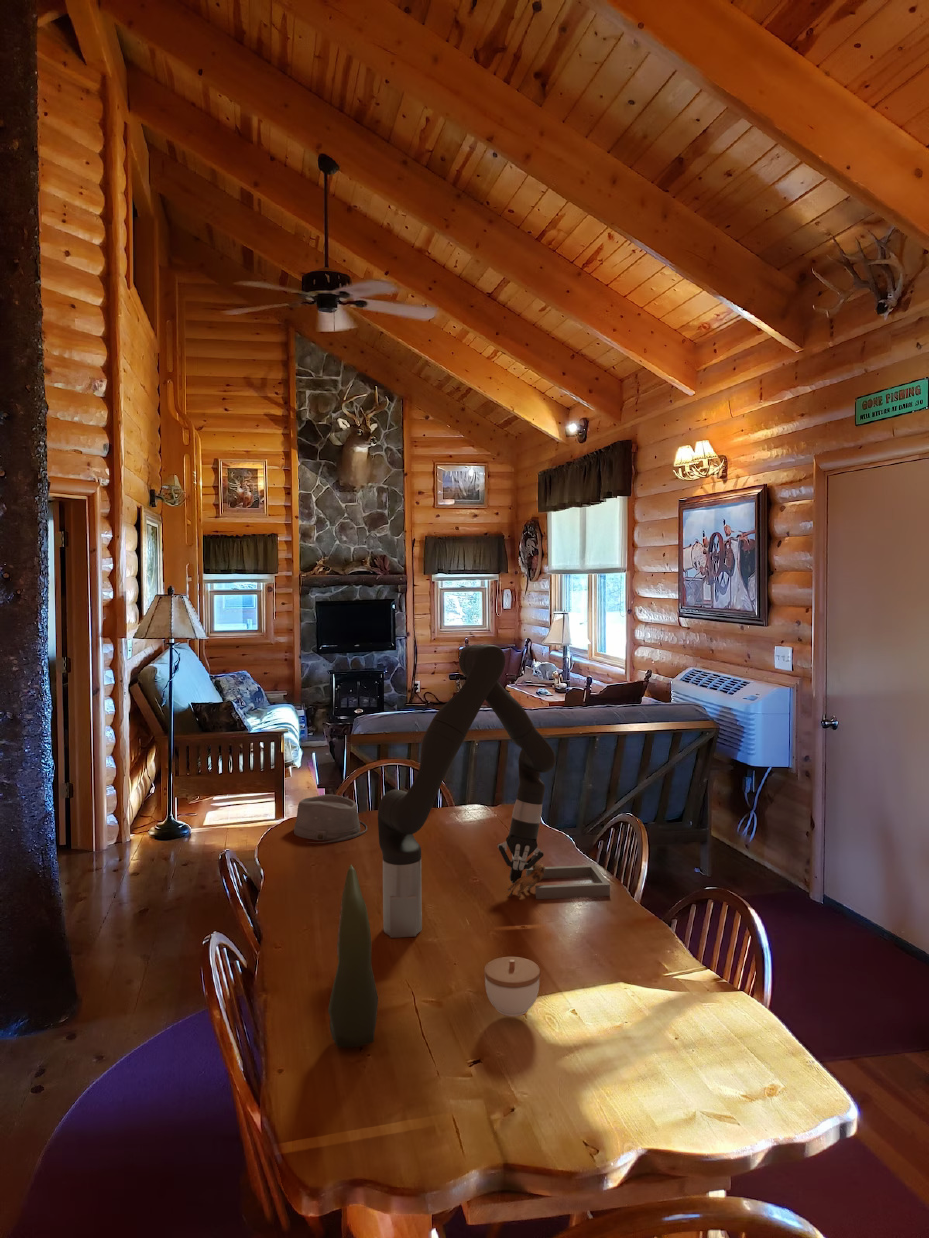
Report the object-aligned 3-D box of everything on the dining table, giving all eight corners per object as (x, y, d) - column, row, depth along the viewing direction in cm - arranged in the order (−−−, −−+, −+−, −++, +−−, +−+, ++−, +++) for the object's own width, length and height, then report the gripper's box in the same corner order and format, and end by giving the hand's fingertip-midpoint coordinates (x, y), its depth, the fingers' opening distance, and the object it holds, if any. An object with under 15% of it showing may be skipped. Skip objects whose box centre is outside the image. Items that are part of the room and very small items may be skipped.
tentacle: (374, 1017, 152) (372, 860, 151) (383, 1053, 140) (381, 884, 139) (325, 1023, 150) (323, 865, 149) (330, 1061, 138) (328, 889, 137)
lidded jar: (474, 1014, 153) (474, 966, 153) (498, 989, 162) (498, 943, 162) (526, 1028, 148) (526, 978, 148) (548, 1001, 158) (548, 954, 157)
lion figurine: (524, 874, 219) (539, 857, 216) (535, 886, 218) (551, 869, 215) (503, 891, 209) (518, 874, 206) (514, 904, 208) (530, 887, 205)
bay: (609, 895, 211) (609, 884, 211) (536, 899, 209) (536, 887, 209) (594, 875, 226) (594, 864, 226) (526, 878, 224) (526, 867, 224)
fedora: (306, 821, 280) (305, 786, 279) (378, 828, 271) (378, 792, 271) (268, 843, 257) (268, 804, 256) (346, 851, 248) (346, 811, 248)
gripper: (504, 817, 210) (492, 883, 209) (553, 825, 212) (541, 891, 211) (500, 811, 218) (488, 874, 217) (547, 819, 219) (535, 882, 218)
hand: (514, 882), depth 214 cm, fingers closed
